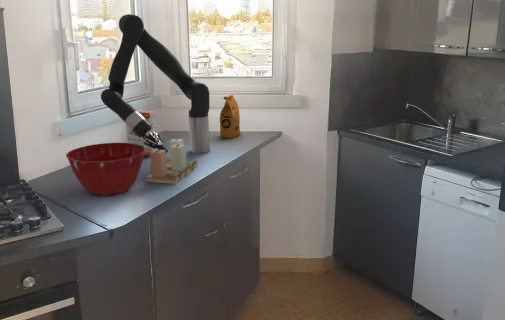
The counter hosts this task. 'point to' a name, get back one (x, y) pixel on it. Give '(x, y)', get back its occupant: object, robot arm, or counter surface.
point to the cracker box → (134, 139)
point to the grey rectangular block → (175, 141)
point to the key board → (173, 174)
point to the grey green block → (178, 157)
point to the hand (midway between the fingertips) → (166, 152)
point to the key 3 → (158, 163)
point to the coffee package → (230, 118)
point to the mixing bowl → (107, 166)
